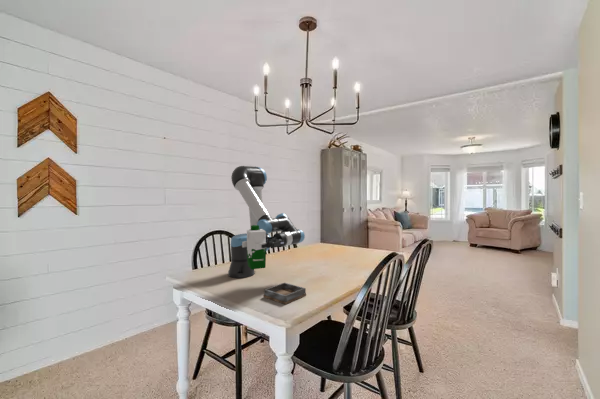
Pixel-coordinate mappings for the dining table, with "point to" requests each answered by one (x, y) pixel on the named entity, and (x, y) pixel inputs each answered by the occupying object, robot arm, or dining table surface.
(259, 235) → the soya milk
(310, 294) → the dining table surface
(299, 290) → the dark gray tray
